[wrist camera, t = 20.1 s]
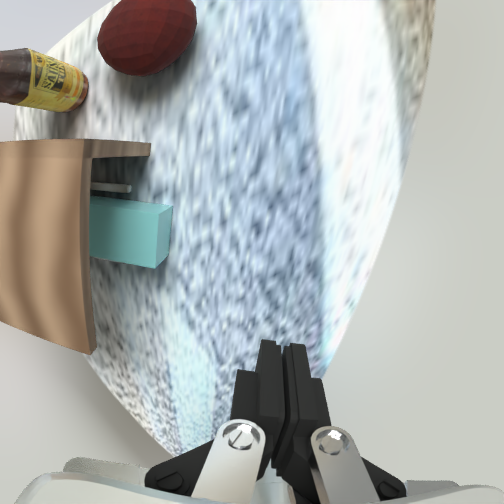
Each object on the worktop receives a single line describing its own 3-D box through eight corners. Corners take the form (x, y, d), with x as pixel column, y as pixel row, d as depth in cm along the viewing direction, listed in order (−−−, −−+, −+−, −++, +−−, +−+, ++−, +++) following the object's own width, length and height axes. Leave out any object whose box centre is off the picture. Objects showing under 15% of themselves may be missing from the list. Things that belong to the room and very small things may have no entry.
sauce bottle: (96, 97, 31) (-21, 71, 12) (60, 122, 32) (-56, 118, 13) (84, 58, 29) (-22, 19, 11) (50, 84, 30) (-58, 65, 11)
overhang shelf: (151, 143, 33) (84, 138, 19) (141, 292, 39) (90, 355, 25) (59, 140, 33) (-20, 143, 19) (58, 274, 39) (-5, 318, 25)
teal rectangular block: (63, 235, 37) (42, 245, 32) (64, 192, 35) (41, 198, 30) (168, 254, 37) (155, 268, 32) (172, 206, 35) (159, 213, 30)
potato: (134, 99, 31) (101, 86, 23) (106, 35, 29) (72, 14, 21) (220, 51, 29) (207, 24, 22) (184, -10, 27) (165, -43, 19)
